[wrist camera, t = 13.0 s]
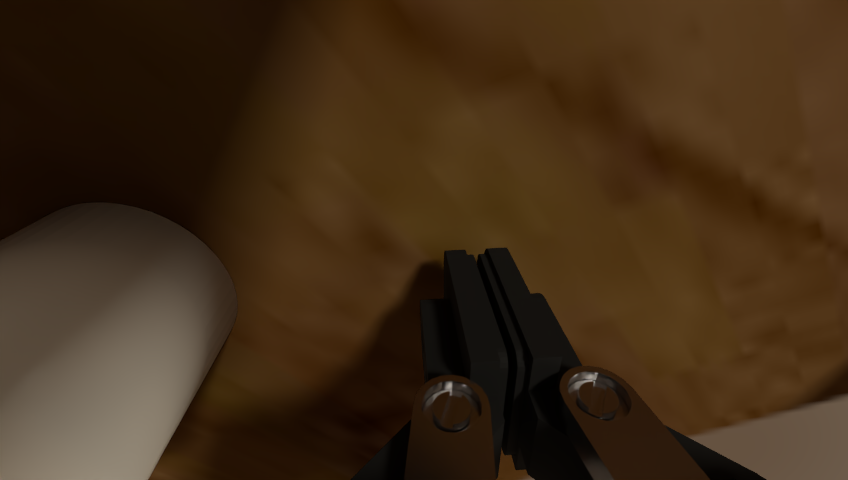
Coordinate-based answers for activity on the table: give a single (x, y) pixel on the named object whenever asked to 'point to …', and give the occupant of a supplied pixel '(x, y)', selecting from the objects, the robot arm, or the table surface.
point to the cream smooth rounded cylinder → (103, 340)
